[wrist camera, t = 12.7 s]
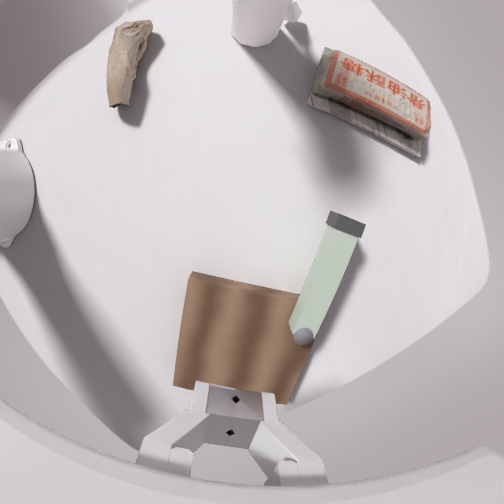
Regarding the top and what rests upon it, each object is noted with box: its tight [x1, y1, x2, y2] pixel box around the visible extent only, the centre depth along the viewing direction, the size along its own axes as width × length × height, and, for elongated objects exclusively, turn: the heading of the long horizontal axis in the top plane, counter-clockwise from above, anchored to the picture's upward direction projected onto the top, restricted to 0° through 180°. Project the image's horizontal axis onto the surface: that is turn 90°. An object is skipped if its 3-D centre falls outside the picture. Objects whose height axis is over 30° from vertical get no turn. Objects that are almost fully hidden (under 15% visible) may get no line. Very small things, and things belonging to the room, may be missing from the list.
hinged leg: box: [289, 211, 365, 345], centre depth 33 cm, size 16×3×3 cm, turn 161°
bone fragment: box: [107, 20, 153, 108], centre depth 27 cm, size 14×6×5 cm, turn 173°
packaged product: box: [307, 47, 431, 157], centre depth 30 cm, size 18×5×10 cm
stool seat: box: [173, 271, 316, 404], centre depth 38 cm, size 18×18×3 cm
